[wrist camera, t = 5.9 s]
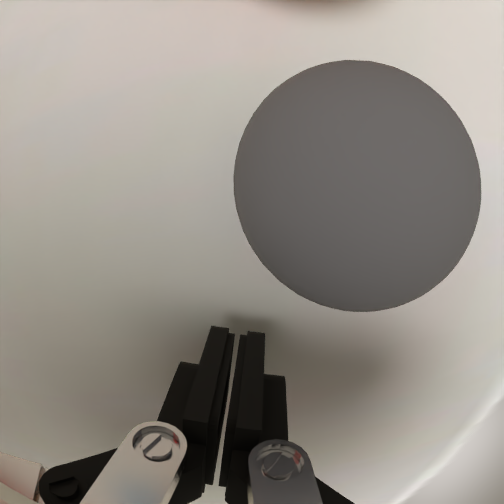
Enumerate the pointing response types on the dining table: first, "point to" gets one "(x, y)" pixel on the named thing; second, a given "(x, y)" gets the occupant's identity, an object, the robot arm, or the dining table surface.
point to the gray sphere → (357, 185)
